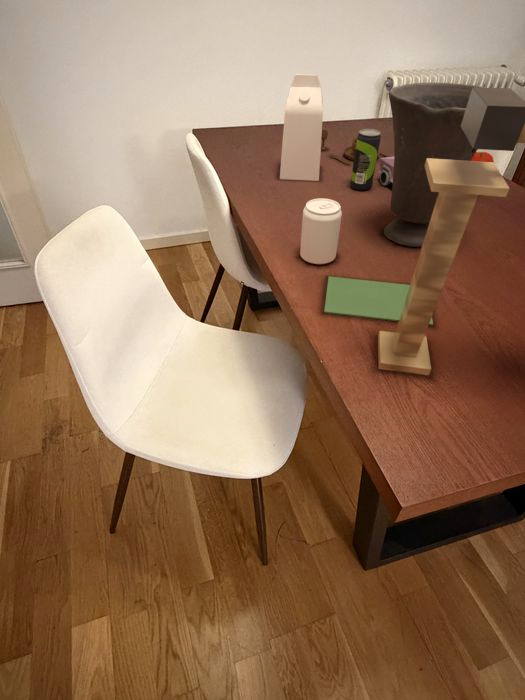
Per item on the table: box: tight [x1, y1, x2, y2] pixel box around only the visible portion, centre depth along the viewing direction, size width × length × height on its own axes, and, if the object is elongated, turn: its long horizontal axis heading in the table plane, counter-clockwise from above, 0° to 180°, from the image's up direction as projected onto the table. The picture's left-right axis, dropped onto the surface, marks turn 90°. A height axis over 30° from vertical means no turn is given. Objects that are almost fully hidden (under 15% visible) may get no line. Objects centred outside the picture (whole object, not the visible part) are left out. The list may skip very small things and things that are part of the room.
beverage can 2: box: [349, 128, 382, 192], centre depth 113 cm, size 6×6×15 cm
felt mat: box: [323, 276, 434, 326], centre depth 79 cm, size 20×12×1 cm, turn 79°
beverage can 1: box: [299, 197, 343, 265], centre depth 87 cm, size 8×8×12 cm
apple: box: [471, 151, 495, 163], centre depth 113 cm, size 9×8×11 cm
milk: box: [279, 73, 324, 182], centre depth 118 cm, size 12×12×26 cm
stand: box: [377, 158, 510, 376], centre depth 58 cm, size 8×8×30 cm
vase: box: [383, 82, 487, 248], centre depth 87 cm, size 22×22×30 cm
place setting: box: [321, 129, 389, 165], centre depth 137 cm, size 18×20×6 cm
